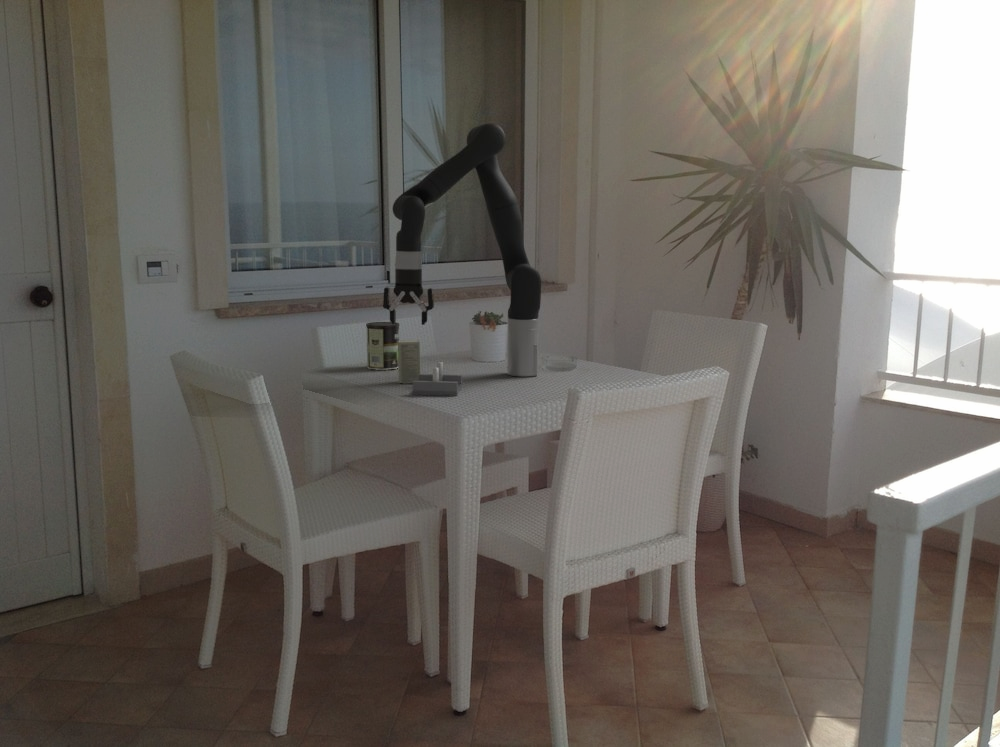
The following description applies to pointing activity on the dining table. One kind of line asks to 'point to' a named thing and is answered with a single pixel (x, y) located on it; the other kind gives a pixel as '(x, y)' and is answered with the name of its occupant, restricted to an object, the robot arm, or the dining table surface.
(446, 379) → the tray
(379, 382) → the dining table surface
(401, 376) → the skincare box
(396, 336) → the coffee can
